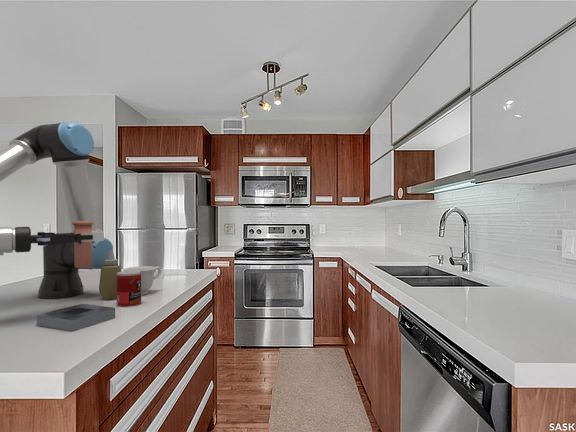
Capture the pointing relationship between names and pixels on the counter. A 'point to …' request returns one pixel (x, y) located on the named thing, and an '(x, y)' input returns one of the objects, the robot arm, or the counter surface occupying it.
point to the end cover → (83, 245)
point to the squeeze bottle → (109, 277)
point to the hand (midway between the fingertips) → (101, 236)
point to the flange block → (75, 317)
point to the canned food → (128, 288)
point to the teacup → (145, 276)
